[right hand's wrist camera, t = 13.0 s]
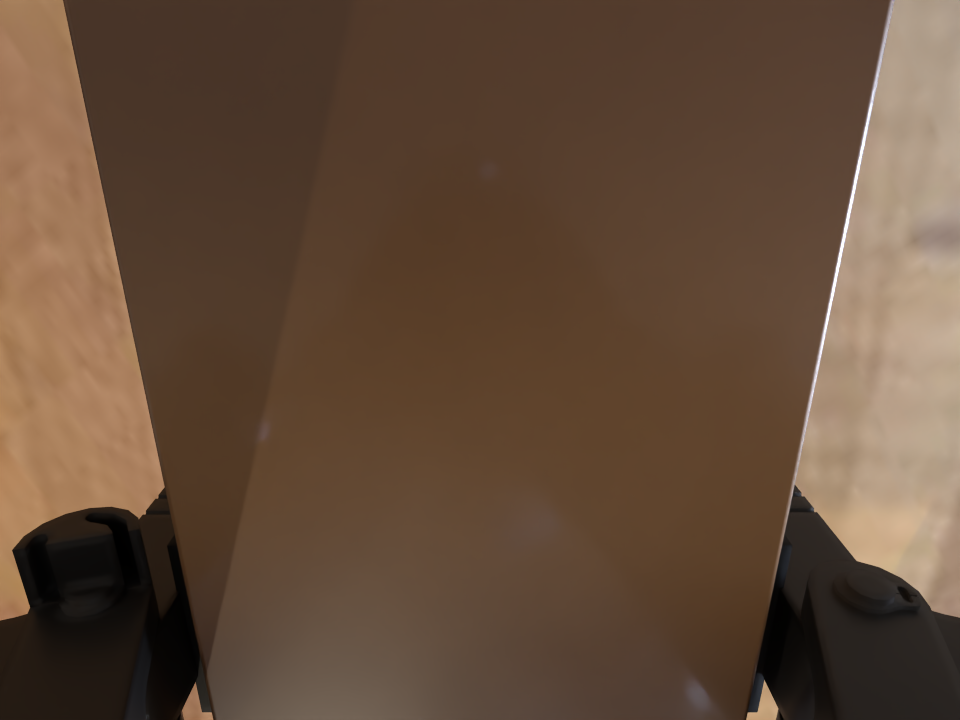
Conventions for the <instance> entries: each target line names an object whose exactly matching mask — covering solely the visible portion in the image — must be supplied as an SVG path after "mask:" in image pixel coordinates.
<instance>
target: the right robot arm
mask: <svg viewBox="0 0 960 720" xmlns="http://www.w3.org/2000/svg"><path fill="white" fill-rule="evenodd" d="M12 551H13V554H14V558H15V561H16V564H17V567H18V570H19V573H20V576H21V580H22V583H23V586H24V589H25V592H26V595H27V598H28V602H29V605H30V610H29V612H28V614H26V615H22V616H19V617H15V618H10V619H6V620H1V621H0V720H184V718H183V713H182V709H183V707H184V705H185V703H186V700H187V698H188V696H189V694H190V692H191V690H192V688H193V686H194V684H195V682H196V685H197V690H198V695H199V700H200V704H201V709H202V712H212V710H211V705H210V701H209V696H208V691H207V686H206V682H205V677H204V672H203V667H202V662H201V658H200V653H199V648H198V643H197V638H196V634H195V629H194V624H193V619H192V615H191V610H190V605H189V600H188V595H187V591H186V586H185V581H184V576H183V571H182V567H181V562H180V557H179V552H178V548H177V543H176V538H175V533H174V528H173V524H172V519H171V514H170V509H169V504H168V500H167V495H166V490H165V488H164V489H163V490H162V491H161V493H160V494H159V498H158V499H155V500H154V501H153V503H152V504H151V505H150V506H149V508H148V509H147V510H146V515H142V516H141V518H140V519H139V520H138V517H136V516H135V515H134V514H132V513H131V512H130V511H129V510H124V509H119V508H114V507H101V508H88V509H84V510H80V511H76V512H72V513H68V514H65V515H62V516H60V517H58V518H55V519H53V520H51V521H48V522H46V523H44V524H42V525H40V526H39V527H37V528H36V529H34V530H33V531H31V532H30V533H28V534H27V535H25V536H24V537H23V538H22V539H21V540H20V542H19V543H18V544H17V545H16V546H15V547H14V549H13V550H12ZM764 680H765V682H766V684H767V686H768V688H769V690H770V692H771V694H772V696H773V698H774V700H775V702H776V704H777V706H778V708H779V709H778V713H777V718H776V720H960V618H958V617H954V616H949V615H944V614H941V613H937V612H934V611H931V608H930V606H929V605H928V604H927V602H926V601H925V599H924V598H923V597H922V595H921V594H920V593H919V591H917V590H916V589H915V588H913V587H912V586H911V585H909V584H908V583H907V582H906V581H904V580H903V579H902V578H900V577H898V576H896V575H894V574H892V573H890V572H888V571H885V570H883V569H881V568H879V567H876V566H872V565H868V564H865V563H861V562H858V561H856V560H855V559H854V558H853V556H852V555H851V554H850V553H849V551H848V550H847V549H846V548H845V546H844V545H843V544H842V543H841V541H840V540H839V539H838V538H837V536H836V535H835V534H834V533H833V531H832V530H831V529H830V528H829V527H828V525H827V524H826V523H825V522H824V520H823V519H822V518H821V517H820V515H819V514H818V513H817V512H814V508H813V507H812V505H811V504H810V503H809V502H808V500H807V499H806V498H805V497H802V496H801V492H800V491H799V489H798V488H797V487H796V486H795V485H794V490H793V495H792V499H791V504H790V509H789V514H788V519H787V524H786V529H785V533H784V538H783V543H782V548H781V553H780V558H779V562H778V567H777V572H776V577H775V582H774V587H773V592H772V596H771V601H770V606H769V611H768V616H767V621H766V625H765V630H764V635H763V640H762V645H761V650H760V655H759V659H758V664H757V669H756V674H755V679H754V684H753V688H752V693H751V698H750V703H749V708H748V712H757V711H758V707H759V702H760V697H761V692H762V688H763V683H764Z"/></svg>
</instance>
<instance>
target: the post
mask: <svg viewBox="0 0 960 720" xmlns="http://www.w3.org/2000/svg"><path fill="white" fill-rule="evenodd" d="M63 2H64V7H65V11H66V16H67V21H68V26H69V31H70V35H71V40H72V45H73V50H74V54H75V59H76V64H77V69H78V74H79V78H80V83H81V88H82V93H83V98H84V102H85V107H86V112H87V117H88V121H89V126H90V131H91V136H92V141H93V145H94V150H95V155H96V160H97V165H98V169H99V174H100V179H101V184H102V189H103V193H104V198H105V203H106V208H107V212H108V217H109V222H110V227H111V232H112V236H113V241H114V246H115V251H116V256H117V260H118V265H119V270H120V275H121V279H122V284H123V289H124V294H125V299H126V303H127V308H128V313H129V318H130V323H131V327H132V332H133V337H134V342H135V346H136V351H137V356H138V361H139V366H140V370H141V375H142V380H143V385H144V390H145V394H146V399H147V404H148V409H149V413H150V418H151V423H152V428H153V433H154V437H155V442H156V447H157V452H158V457H159V461H160V466H161V471H162V476H163V481H164V485H165V490H166V495H167V500H168V504H169V509H170V514H171V519H172V524H173V528H174V533H175V538H176V543H177V548H178V552H179V557H180V562H181V567H182V571H183V576H184V581H185V586H186V591H187V595H188V600H189V605H190V610H191V615H192V619H193V624H194V629H195V634H196V638H197V643H198V648H199V653H200V658H201V662H202V667H203V672H204V677H205V682H206V686H207V691H208V696H209V701H210V705H211V710H212V715H213V720H746V718H747V713H748V708H749V703H750V698H751V693H752V688H753V684H754V679H755V674H756V669H757V664H758V659H759V655H760V650H761V645H762V640H763V635H764V630H765V625H766V621H767V616H768V611H769V606H770V601H771V596H772V592H773V587H774V582H775V577H776V572H777V567H778V562H779V558H780V553H781V548H782V543H783V538H784V533H785V529H786V524H787V519H788V514H789V509H790V504H791V499H792V495H793V490H794V485H795V480H796V475H797V470H798V465H799V461H800V456H801V451H802V446H803V441H804V436H805V432H806V427H807V422H808V417H809V412H810V407H811V402H812V398H813V393H814V388H815V383H816V378H817V373H818V369H819V364H820V359H821V354H822V349H823V344H824V339H825V335H826V330H827V325H828V320H829V315H830V310H831V306H832V301H833V296H834V291H835V286H836V281H837V276H838V272H839V267H840V262H841V257H842V252H843V247H844V243H845V238H846V233H847V228H848V223H849V218H850V213H851V209H852V204H853V199H854V194H855V189H856V184H857V179H858V175H859V170H860V165H861V160H862V155H863V150H864V146H865V141H866V136H867V131H868V126H869V121H870V116H871V112H872V107H873V102H874V97H875V92H876V87H877V83H878V78H879V73H880V68H881V63H882V58H883V53H884V49H885V44H886V39H887V34H888V29H889V24H890V20H891V15H892V10H893V5H894V0H63Z"/></svg>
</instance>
